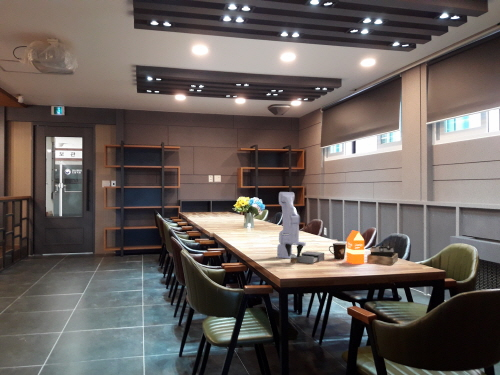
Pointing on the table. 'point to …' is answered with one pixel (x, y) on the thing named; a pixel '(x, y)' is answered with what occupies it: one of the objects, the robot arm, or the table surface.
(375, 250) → the camera
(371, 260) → the frame
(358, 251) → the orange juice
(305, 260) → the grey drawer
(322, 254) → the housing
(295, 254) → the disc
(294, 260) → the walnut block
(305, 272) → the table surface
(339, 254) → the coffee mug
